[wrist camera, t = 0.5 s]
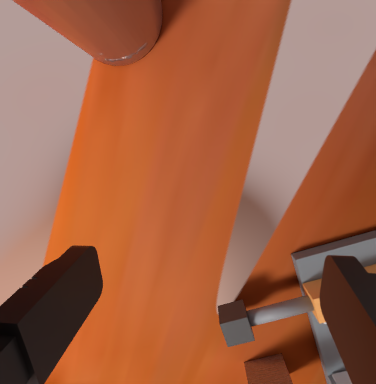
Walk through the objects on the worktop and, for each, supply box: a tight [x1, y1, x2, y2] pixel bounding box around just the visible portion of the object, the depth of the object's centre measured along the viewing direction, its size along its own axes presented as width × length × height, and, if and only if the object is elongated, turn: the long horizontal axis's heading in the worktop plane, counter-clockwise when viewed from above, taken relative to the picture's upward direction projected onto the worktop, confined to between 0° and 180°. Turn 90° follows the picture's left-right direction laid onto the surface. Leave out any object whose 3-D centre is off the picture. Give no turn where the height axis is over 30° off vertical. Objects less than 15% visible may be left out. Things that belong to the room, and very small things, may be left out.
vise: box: [291, 230, 376, 384], centre depth 29 cm, size 20×12×4 cm, turn 19°
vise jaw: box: [218, 264, 376, 347], centre depth 28 cm, size 3×22×3 cm, turn 109°
